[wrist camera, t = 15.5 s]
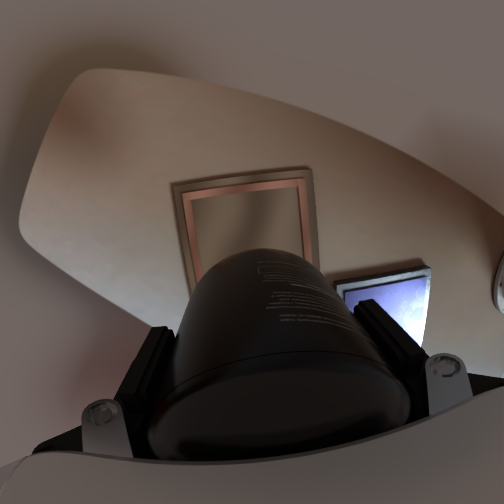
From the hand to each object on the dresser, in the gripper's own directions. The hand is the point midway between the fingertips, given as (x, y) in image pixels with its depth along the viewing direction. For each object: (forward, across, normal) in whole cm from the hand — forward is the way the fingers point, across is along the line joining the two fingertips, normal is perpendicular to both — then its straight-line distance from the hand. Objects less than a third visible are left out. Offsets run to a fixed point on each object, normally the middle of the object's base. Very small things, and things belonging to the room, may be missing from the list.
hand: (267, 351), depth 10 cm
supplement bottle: (+3, 0, 0) cm, 3 cm away
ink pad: (+18, -14, +11) cm, 25 cm away
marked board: (+18, 0, 0) cm, 18 cm away
